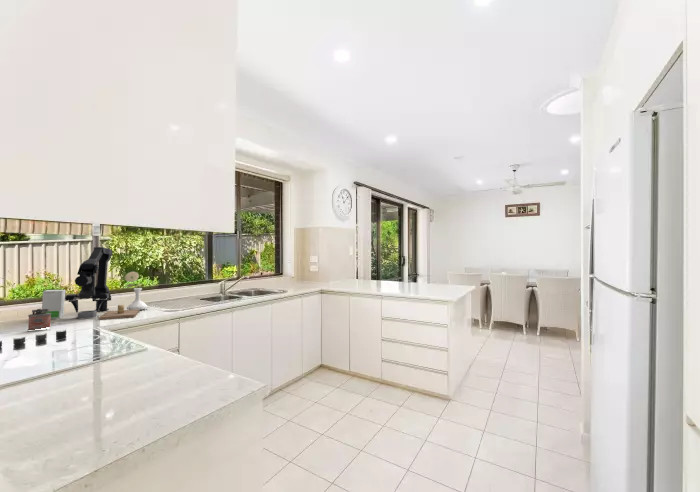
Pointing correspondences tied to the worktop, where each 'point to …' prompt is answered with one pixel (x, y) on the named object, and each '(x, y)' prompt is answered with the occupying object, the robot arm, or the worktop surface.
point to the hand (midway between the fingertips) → (87, 311)
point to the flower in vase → (137, 303)
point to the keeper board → (119, 313)
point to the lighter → (39, 319)
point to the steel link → (87, 314)
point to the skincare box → (54, 302)
